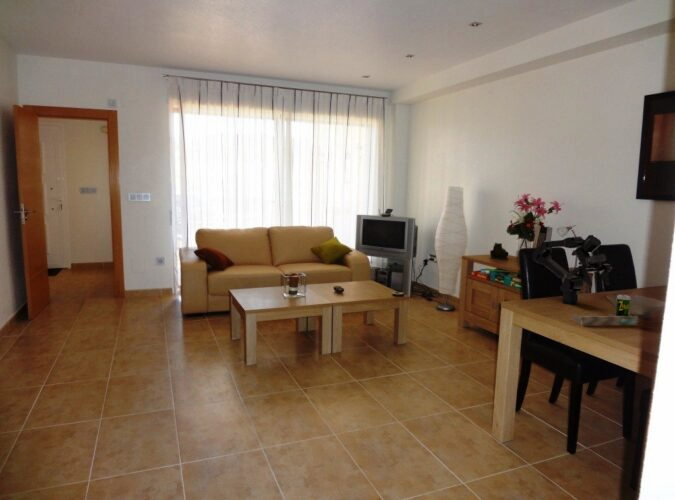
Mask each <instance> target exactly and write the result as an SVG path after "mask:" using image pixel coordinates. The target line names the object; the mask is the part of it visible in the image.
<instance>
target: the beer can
mask: <svg viewBox="0 0 675 500" xmlns="http://www.w3.org/2000/svg"><path fill="white" fill-rule="evenodd" d="M615 301H616V302H615V312H614V316H629V315H630V310H631V303H632V299H631V296H630V295H627V294H618V295H617V297H616V300H615Z"/></svg>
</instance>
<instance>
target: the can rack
mask: <svg viewBox="0 0 675 500" xmlns="http://www.w3.org/2000/svg"><path fill="white" fill-rule="evenodd" d="M571 320H572V321H574V322H575V323H577V324H578V325H580V326H582V327H583V326H588V327H589V326H590V327H591V326H593V327H594V326H597V327H599V326H638V325H639V324H638V323H639V316H638V315H631V314H629V316H615V314H612V313H607V315H602V316H601V315H596V314H595V313H590V315H589V316H588V315H586V316H585V315H582V316H581V315H579V314H577V313H573V314H572V316H571Z"/></svg>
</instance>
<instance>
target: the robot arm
mask: <svg viewBox="0 0 675 500" xmlns="http://www.w3.org/2000/svg"><path fill="white" fill-rule="evenodd" d="M601 245H602V241H601V240H600V239H599V238H598V237H596V236H594V234H589V235H588V236H586V238H583V237H582V236H569V237H565V238H563V239H557V240H544V241H543V240H542V242H541V243H540V245H538V247H536V248H535V249H534V250H533V253H532V254H531V257H532V260H533V261H534V262H536V263H537V264H541V265H544V266H545V267H546V268H547V269H549V270H550V271H551V272H552V273H554V275H556V276H557V277H558V278H559V279H561V281H562V284H561V285H560V286H559V289H560V291H561V292H562V293H563V294H562V304H569V305H577V304H578V303H579V293H578V292H581V291H582V288H584V283H586V284H587V285H588V286H590V287H592V286H593V282H592V281H591V278H590V276H589V273H594V272H596V273H597V274H598V277H599V278H600V279H601V280H602V281H603V282H604V284H606V285H607V286H609V285H610V278H609V272H611V271H612V269H613V266H612V265H611V264H609V263H605V261H606V260H607V256H606V255H605V254H604V253H601V254H597V255H593V256H592V255H591V253H593V252H594V251H595V250H597V249H598V248H599V247H600V246H601ZM553 248H567V249H573V250H572V252H571V256H573V257H574V256H576V258H577V259H578V265H576V266H575V267H574V268H573V269H572V270H571V272H570V273H569V271H567V270H566V269H565V268H564V267H563V266H561V265H560V264H558V262H556V261H555V260H553V259H552V255H551V254H552V249H553ZM601 263H602V264H601Z"/></svg>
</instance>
